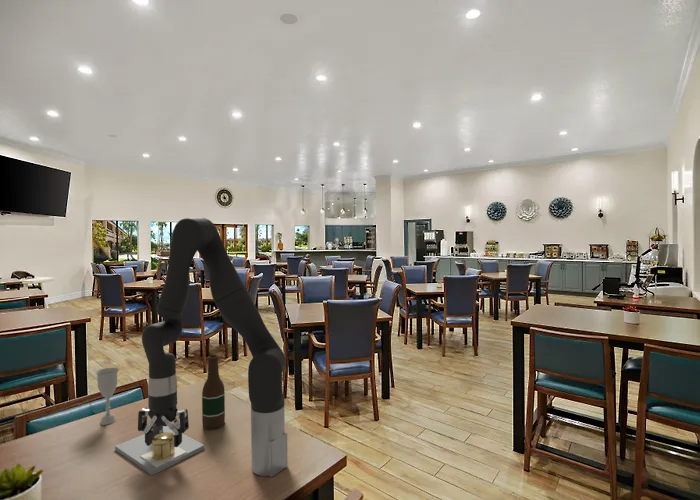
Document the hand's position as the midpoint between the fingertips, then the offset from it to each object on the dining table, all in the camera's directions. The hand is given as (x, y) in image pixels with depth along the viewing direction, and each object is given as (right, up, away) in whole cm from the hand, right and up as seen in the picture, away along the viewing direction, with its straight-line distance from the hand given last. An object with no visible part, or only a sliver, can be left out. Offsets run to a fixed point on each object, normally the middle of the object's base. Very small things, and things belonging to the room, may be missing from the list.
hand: (163, 445), depth 111 cm
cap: (0, -3, 0) cm, 3 cm away
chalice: (-31, -4, +23) cm, 39 cm away
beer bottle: (+7, -4, +21) cm, 22 cm away
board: (-4, -4, +5) cm, 8 cm away
